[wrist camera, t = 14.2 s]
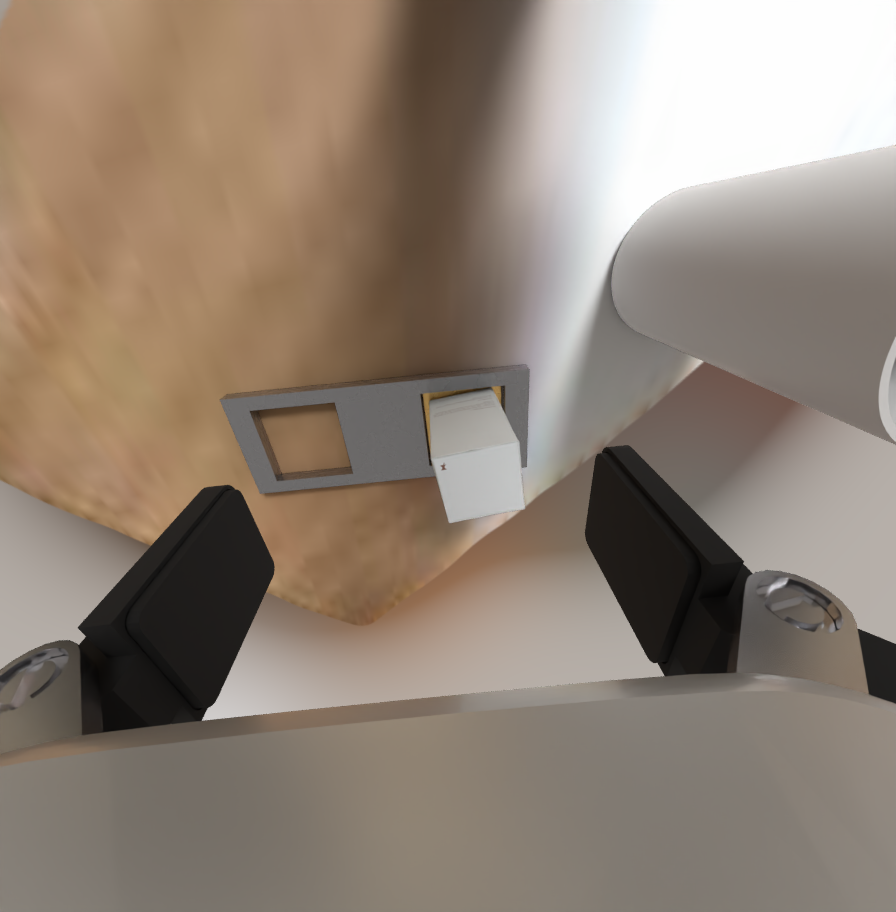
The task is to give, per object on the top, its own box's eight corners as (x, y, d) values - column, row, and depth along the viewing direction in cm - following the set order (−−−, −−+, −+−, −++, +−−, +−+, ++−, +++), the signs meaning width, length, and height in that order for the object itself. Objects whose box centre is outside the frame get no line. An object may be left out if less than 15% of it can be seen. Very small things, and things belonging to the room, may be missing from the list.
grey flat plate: (227, 394, 39) (219, 399, 38) (525, 364, 39) (529, 369, 38) (265, 486, 45) (260, 493, 44) (523, 460, 45) (526, 467, 44)
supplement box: (441, 455, 44) (445, 526, 33) (428, 398, 40) (428, 457, 29) (501, 444, 44) (526, 511, 33) (494, 385, 40) (519, 440, 29)
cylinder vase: (682, 151, 30) (1295, -61, 9) (769, 243, 34) (1347, 247, 13) (581, 291, 36) (817, 369, 14) (666, 357, 39) (955, 497, 18)
